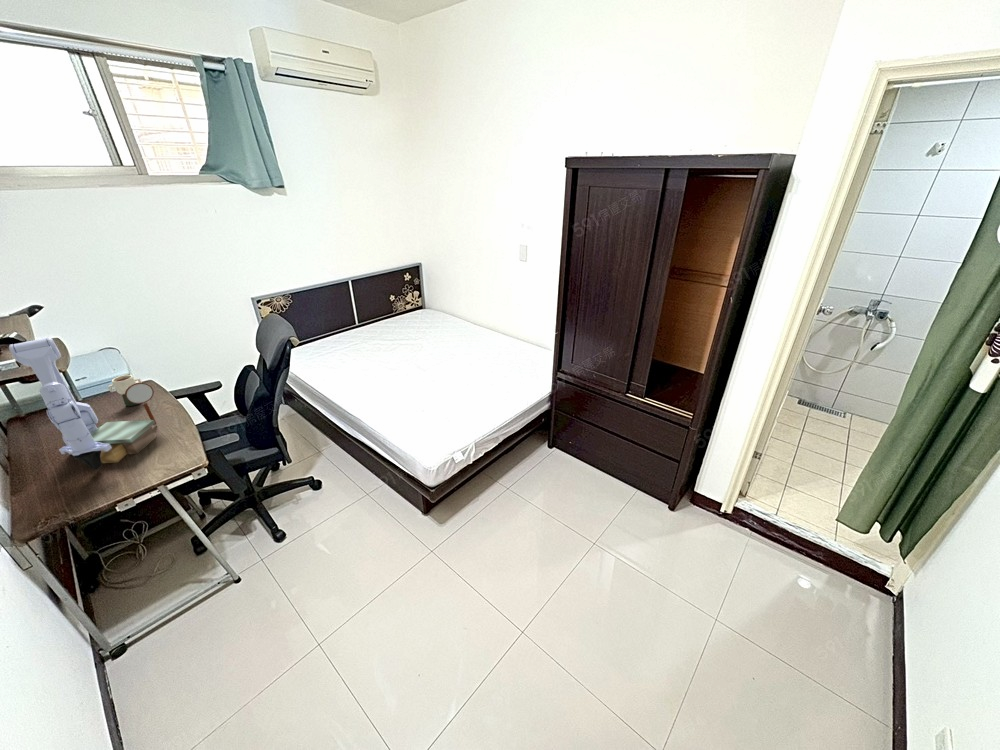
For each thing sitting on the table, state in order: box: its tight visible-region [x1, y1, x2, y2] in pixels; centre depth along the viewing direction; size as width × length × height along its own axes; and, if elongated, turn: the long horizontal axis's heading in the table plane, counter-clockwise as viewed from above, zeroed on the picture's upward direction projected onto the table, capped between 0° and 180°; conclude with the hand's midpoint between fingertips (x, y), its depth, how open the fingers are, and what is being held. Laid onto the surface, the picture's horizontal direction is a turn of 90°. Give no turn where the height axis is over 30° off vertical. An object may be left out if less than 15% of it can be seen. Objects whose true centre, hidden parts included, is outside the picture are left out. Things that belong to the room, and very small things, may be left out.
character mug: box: [107, 374, 143, 407], centre depth 176 cm, size 11×7×13 cm, turn 134°
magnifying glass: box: [125, 382, 157, 427], centre depth 159 cm, size 9×2×20 cm, turn 145°
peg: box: [100, 443, 129, 464], centre depth 147 cm, size 5×12×5 cm, turn 6°
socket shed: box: [91, 419, 157, 455], centre depth 149 cm, size 17×12×8 cm
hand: (97, 467), depth 138 cm, fingers closed
